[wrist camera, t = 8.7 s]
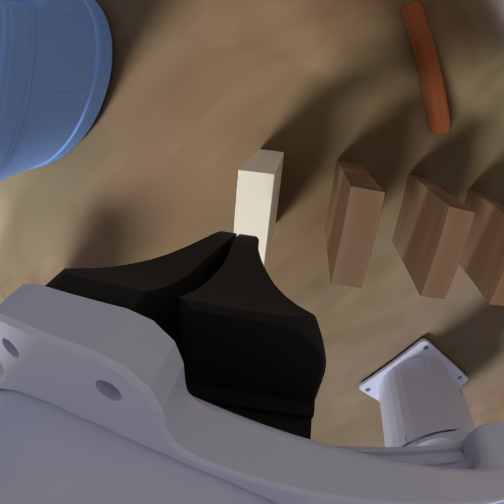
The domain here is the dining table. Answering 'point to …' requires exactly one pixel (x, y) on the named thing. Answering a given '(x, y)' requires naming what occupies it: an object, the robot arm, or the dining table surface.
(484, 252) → the walnut domino
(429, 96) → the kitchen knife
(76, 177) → the dining table surface
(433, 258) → the walnut domino
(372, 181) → the walnut domino
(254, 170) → the cream domino
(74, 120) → the water jug
